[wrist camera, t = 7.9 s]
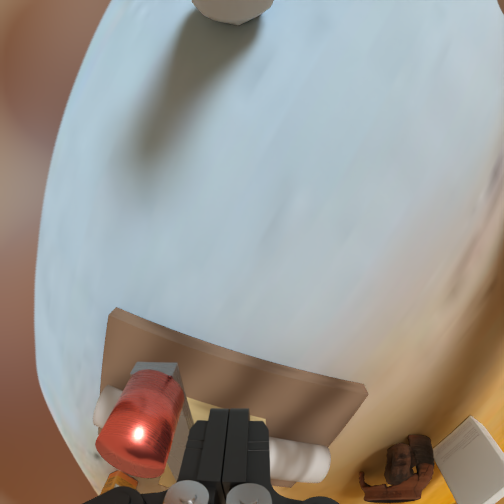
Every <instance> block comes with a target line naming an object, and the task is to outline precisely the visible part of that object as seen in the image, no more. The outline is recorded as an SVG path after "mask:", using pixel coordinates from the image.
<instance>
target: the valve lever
mask: <svg viewBox="0 0 504 504" xmlns="http://www.w3.org/2000/svg"><path fill="white" fill-rule="evenodd" d="M130 376H131V378H130V379H129V381H128V383H127V385H126V387H125V388H124V390H123V392H122V394H121V395H120V397H119V399H118V401H117V403H116V404H115V406H114V408H113V410H112V412H111V414H110V415H109V417H108V419H107V421H106V423H105V425H104V427H103V428H102V430H101V432H100V434H99V436H98V438H97V440H96V444H95V445H96V448H97V451H98V452H99V454H100V455H101V456H102V457H103V459H105V460H106V461H107V462H108V463H109V464H111V465H112V466H113V467H115V468H117V469H118V470H120V471H122V472H125V473H127V474H130V475H133V476H136V477H142V478H155V477H158V476H160V475H162V474H163V473H164V471H165V467H166V463H167V464H168V466H169V468H170V470H171V472H172V474H173V476H174V478H175V480H176V481H177V479H178V476H179V472H180V468H181V464H182V460H183V455H184V451H185V449H186V443H187V441H188V435H189V431H190V428H191V427H192V426H193V425H194V421H193V418H192V415H191V411H190V408H189V404H188V401H187V397H186V394H185V390H184V386H183V383H182V379H181V375H180V371H179V367H178V363H165V362H137V363H136V364H135V366H134V368H133V369H132V371H131V373H130Z"/></svg>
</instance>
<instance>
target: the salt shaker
mask: <svg viewBox="0 0 504 504" xmlns="http://www.w3.org/2000/svg"><path fill="white" fill-rule="evenodd" d="M273 1H274V0H192V3H193V4H194V5H195V6H196V8H197V9H198V10H199V11H200V12H201V13H202V14H203V15H204V16H206V17H208V18H210V19H212V20H214V21H218V22H223V23H228V24H233V25H238V26H239V25H241V24H243V23H245V22H247V21H249V20H251V19H253V18H255V17H257V16H259V15H261V14H262V13H263V12H265V11H266V10H267V9H269V8H270V7H271V5H272V3H273Z"/></svg>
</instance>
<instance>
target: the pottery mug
mask: <svg viewBox="0 0 504 504" xmlns="http://www.w3.org/2000/svg"><path fill="white" fill-rule="evenodd" d="M408 440H409V446H408V445H407V444H404V443H398V444H395V445H394V446H392V447H390V448H389V449H388V454H387V465H386V468H385V473H384V476H385V478H386V482H387V483H388V484H390V485H392V486H389V487H387V486H386V484H382V485H374V486H370V485H368V484H367V483H365V481H364V473H363V472H360V473H359V474H360V477H359V479H360V481H359V483H360V485H361V488H362V490H363V491H364V493H365V496H364V501H367V502H374V503H398V502H409V501H415V500H418V499H420V498H421V492H422V490H423V489H424V488H425V487H426V486H427V485H428V484H429V482H430V480H431V479H432V475H433V473H434V472H433V469H434V454H433V452H434V451H433V448H432V445H431V440H430V438H428V437H427V436H423V435H409V436H408ZM414 466H416V469H417V473H413V469H412V468H413V467H414Z"/></svg>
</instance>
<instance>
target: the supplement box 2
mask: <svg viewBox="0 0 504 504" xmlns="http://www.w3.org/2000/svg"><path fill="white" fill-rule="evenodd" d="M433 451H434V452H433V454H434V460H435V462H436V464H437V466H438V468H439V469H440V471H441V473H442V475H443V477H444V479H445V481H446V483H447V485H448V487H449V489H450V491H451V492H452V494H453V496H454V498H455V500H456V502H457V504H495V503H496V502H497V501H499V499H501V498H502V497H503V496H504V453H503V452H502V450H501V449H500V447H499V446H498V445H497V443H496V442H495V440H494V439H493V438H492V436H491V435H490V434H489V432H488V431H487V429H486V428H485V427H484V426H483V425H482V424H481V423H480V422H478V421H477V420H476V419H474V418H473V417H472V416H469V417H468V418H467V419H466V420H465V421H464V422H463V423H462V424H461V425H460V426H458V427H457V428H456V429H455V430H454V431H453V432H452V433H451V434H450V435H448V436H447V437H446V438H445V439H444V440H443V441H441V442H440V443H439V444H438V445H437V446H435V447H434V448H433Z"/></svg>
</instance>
